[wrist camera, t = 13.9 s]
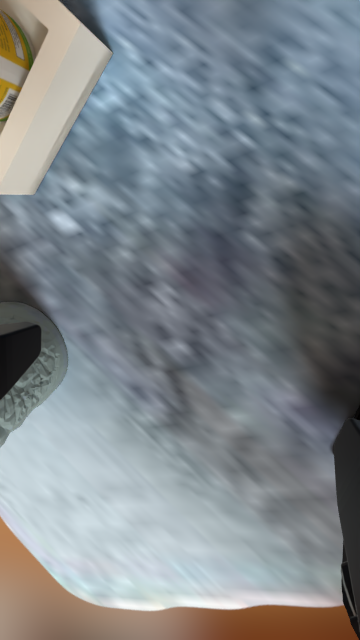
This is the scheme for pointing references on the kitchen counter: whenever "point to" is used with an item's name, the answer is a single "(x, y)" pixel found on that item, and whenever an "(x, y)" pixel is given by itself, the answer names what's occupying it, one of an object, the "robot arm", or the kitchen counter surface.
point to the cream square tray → (47, 91)
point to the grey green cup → (32, 368)
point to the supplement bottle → (13, 62)
